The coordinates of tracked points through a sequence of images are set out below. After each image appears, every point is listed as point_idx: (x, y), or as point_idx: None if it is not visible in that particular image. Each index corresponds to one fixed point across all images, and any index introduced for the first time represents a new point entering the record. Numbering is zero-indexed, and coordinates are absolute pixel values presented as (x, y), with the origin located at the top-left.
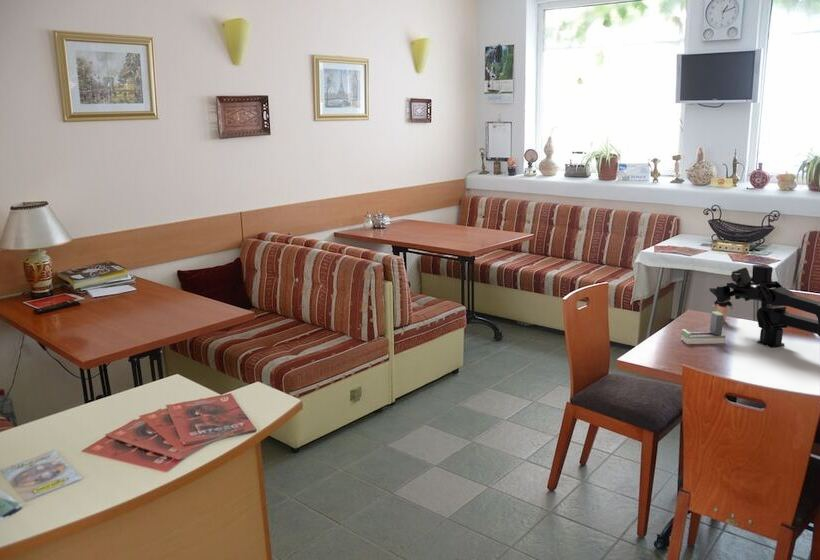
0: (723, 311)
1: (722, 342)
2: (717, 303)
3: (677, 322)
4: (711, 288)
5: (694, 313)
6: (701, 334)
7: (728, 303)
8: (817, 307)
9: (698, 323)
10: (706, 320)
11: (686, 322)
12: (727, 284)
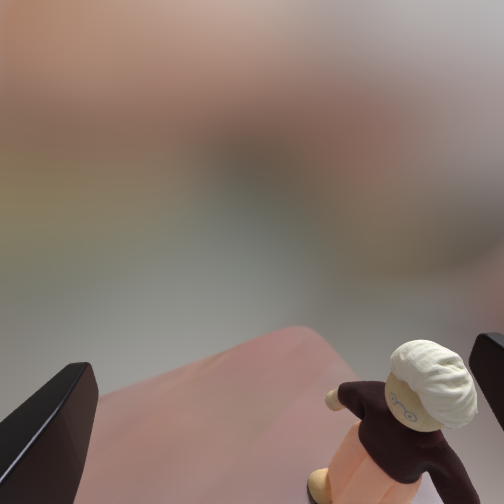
0: (372, 502)
1: None
2: (354, 412)
3: None
4: (23, 404)
5: (295, 340)
6: None
7: (441, 477)
8: None
9: (163, 486)
10: (268, 454)
11: (116, 434)
12: (483, 355)
